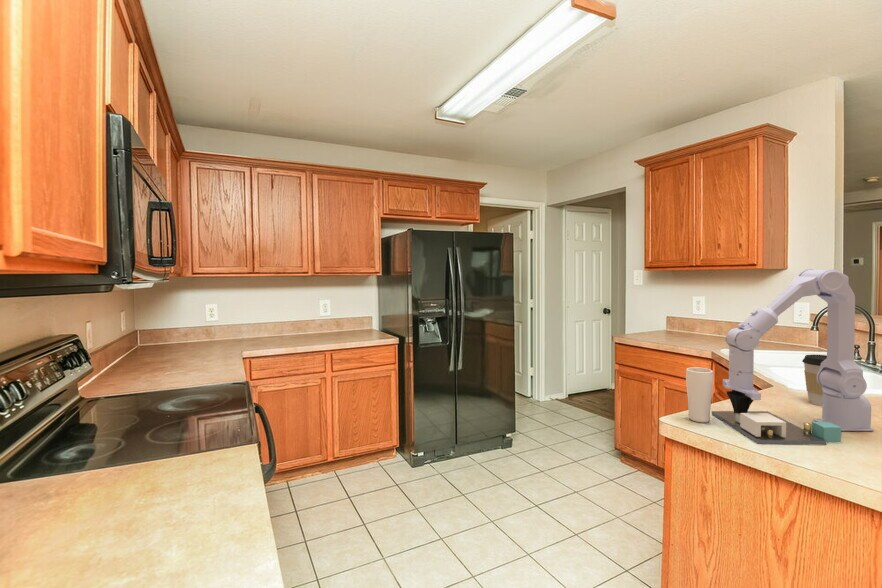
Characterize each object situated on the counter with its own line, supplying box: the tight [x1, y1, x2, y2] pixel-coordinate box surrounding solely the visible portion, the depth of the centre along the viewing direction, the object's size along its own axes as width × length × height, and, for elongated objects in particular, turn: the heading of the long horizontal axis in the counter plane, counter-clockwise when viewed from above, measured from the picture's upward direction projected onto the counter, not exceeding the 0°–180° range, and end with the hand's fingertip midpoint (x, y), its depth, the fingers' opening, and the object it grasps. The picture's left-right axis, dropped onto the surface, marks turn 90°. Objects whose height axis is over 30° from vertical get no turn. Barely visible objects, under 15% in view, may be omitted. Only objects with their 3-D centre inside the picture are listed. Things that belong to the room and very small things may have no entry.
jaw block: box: [811, 421, 842, 443], centre depth 109 cm, size 4×4×4 cm
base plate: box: [711, 410, 827, 445], centre depth 118 cm, size 16×22×4 cm
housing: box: [735, 413, 786, 437], centre depth 115 cm, size 7×12×4 cm, turn 174°
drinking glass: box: [685, 366, 714, 424], centre depth 125 cm, size 7×7×15 cm
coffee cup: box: [801, 354, 827, 407], centre depth 136 cm, size 10×10×15 cm
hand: (740, 417), depth 122 cm, fingers closed
